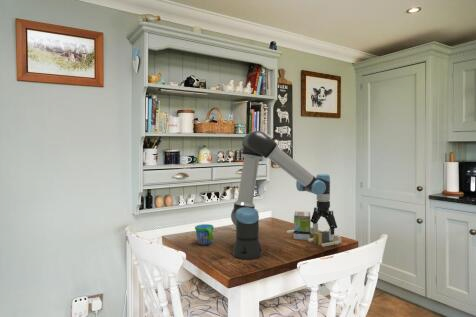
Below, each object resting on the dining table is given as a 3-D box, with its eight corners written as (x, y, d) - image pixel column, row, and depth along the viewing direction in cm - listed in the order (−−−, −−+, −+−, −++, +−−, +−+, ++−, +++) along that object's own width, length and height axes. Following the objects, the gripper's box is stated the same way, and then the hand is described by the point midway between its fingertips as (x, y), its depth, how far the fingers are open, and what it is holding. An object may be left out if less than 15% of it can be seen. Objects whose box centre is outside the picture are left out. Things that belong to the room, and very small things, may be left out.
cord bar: (333, 242, 185) (333, 231, 185) (318, 244, 180) (318, 234, 180) (328, 240, 189) (328, 230, 188) (313, 242, 184) (313, 232, 184)
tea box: (310, 240, 189) (310, 215, 189) (293, 239, 191) (293, 215, 191) (310, 234, 204) (310, 211, 204) (294, 233, 206) (294, 210, 206)
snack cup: (191, 241, 188) (190, 224, 188) (207, 239, 194) (207, 222, 193) (201, 248, 175) (201, 230, 175) (218, 245, 180) (218, 227, 180)
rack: (323, 246, 176) (323, 239, 176) (286, 232, 208) (286, 226, 208) (341, 243, 182) (341, 236, 182) (303, 230, 214) (303, 224, 214)
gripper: (343, 203, 174) (343, 241, 175) (314, 197, 197) (314, 231, 197) (333, 204, 171) (333, 243, 171) (304, 198, 193) (304, 233, 194)
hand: (323, 237), depth 184 cm, fingers open, 13 cm apart
